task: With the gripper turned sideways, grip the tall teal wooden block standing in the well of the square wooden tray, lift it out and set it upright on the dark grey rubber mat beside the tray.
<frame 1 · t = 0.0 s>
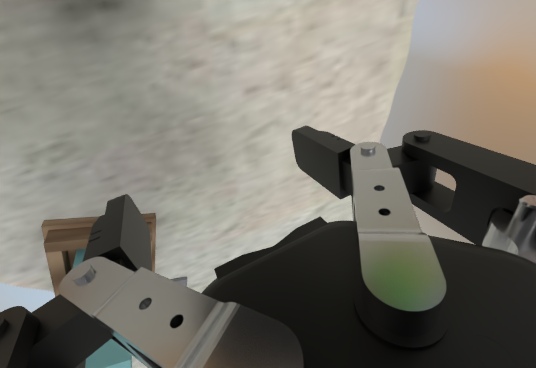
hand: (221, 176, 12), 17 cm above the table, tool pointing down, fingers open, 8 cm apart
block: (106, 257, 30), point 1 cm above the table, touching square wooden tray
square wooden tray: (107, 251, 31), on the table
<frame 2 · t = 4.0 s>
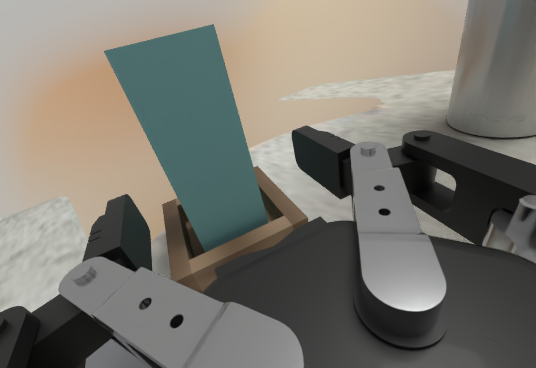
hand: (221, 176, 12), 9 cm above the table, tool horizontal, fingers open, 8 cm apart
block: (232, 228, 21), point 1 cm above the table, touching square wooden tray
square wooden tray: (235, 236, 22), on the table
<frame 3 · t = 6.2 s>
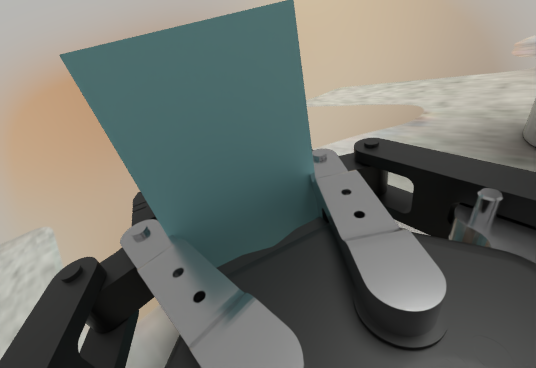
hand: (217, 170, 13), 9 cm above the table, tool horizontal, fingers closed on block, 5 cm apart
block: (271, 302, 15), point 1 cm above the table, touching gripper, square wooden tray
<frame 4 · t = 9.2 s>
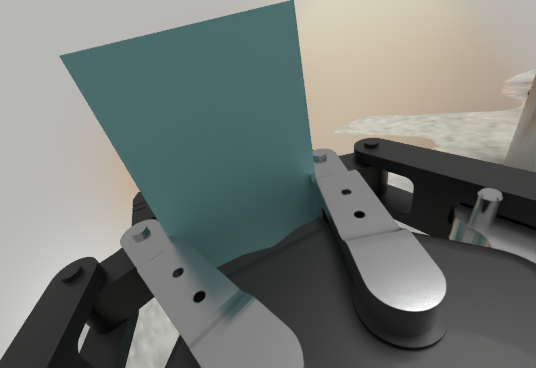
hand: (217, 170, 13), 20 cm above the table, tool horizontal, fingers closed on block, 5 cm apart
block: (271, 303, 15), point 12 cm above the table, touching gripper
when the fingers open (10 cm above the table, at t = 12.3 s): block drops 1 cm, resting on rubber mat.
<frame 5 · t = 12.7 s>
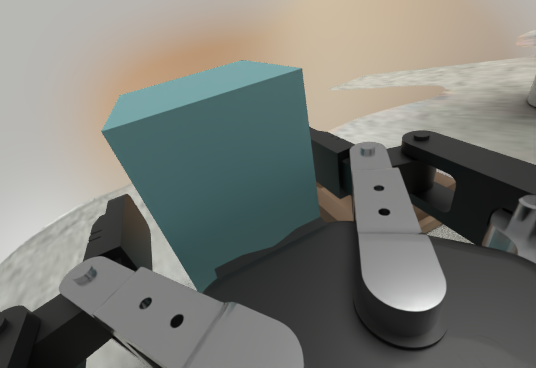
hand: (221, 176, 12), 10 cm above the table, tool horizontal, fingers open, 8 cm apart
block: (276, 317, 16), resting on rubber mat
square wooden tray: (362, 206, 23), on the table
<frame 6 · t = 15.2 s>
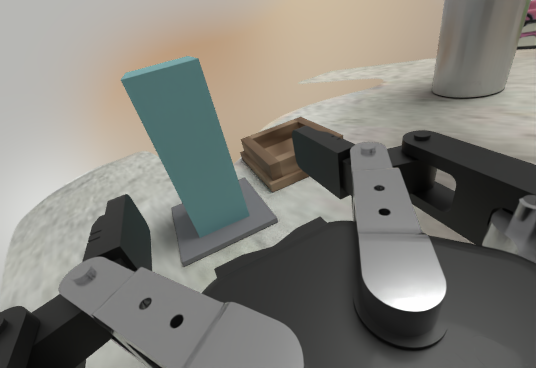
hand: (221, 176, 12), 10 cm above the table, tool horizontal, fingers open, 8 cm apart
block: (219, 212, 26), resting on rubber mat
dog bowl: (533, 40, 55), on the table
square wooden tray: (291, 158, 33), on the table
rubber mat: (220, 215, 26), on the table
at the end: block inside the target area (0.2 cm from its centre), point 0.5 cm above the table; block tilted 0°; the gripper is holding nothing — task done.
